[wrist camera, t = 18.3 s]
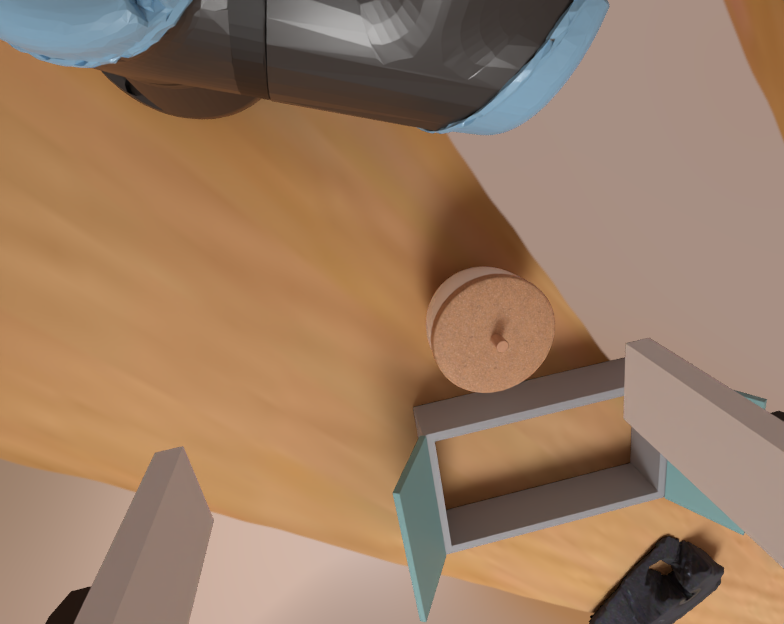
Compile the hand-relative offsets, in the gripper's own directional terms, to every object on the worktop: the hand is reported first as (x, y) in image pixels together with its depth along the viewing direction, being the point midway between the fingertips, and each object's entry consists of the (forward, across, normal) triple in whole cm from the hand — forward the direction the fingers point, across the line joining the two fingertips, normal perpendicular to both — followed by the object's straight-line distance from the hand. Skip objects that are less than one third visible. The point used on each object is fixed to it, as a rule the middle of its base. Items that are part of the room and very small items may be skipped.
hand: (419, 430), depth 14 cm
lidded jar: (+31, +10, -10) cm, 34 cm away
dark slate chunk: (+31, +31, -61) cm, 75 cm away
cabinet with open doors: (+31, +16, -28) cm, 45 cm away
